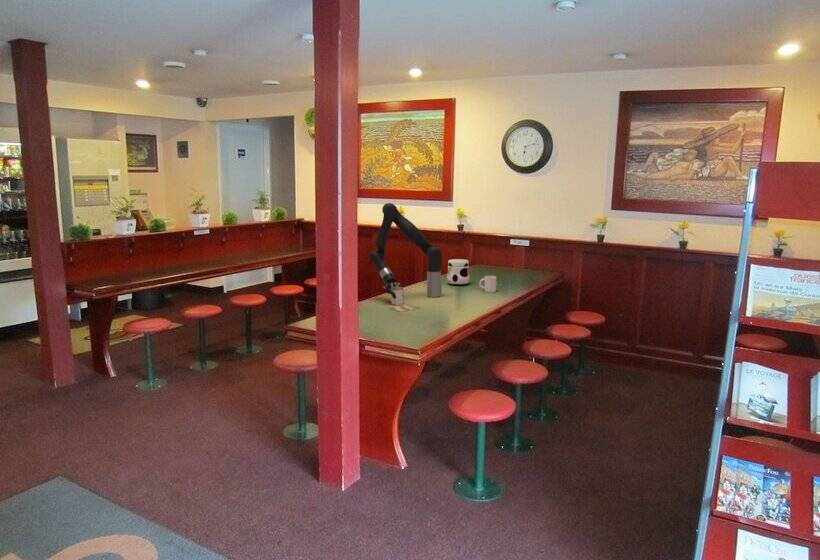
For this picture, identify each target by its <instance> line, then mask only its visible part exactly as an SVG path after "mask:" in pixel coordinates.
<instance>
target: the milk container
mask: <svg viewBox="0 0 820 560" xmlns="http://www.w3.org/2000/svg"><path fill="white" fill-rule="evenodd" d="M469 262H470V261H469V260H468V259H463V258H462V259H461V258H453V259H452V258H451V259H449V260H448V261H447V274H446V283H448V284H449V285H453V286H465V285H469V283H470V280H471V277H470V272H469V271H470V265H469V264H470V263H469Z"/></svg>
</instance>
